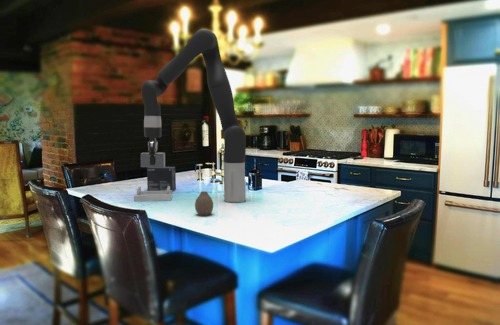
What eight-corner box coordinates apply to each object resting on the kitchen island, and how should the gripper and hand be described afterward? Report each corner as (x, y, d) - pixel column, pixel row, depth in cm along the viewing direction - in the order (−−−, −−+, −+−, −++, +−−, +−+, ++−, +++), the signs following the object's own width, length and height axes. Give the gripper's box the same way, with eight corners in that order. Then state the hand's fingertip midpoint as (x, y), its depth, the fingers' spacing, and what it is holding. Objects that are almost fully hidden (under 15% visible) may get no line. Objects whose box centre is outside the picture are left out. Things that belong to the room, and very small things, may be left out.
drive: (165, 165, 183) (165, 152, 182) (163, 167, 178) (163, 153, 177) (142, 165, 182) (142, 152, 181) (140, 167, 177) (140, 153, 176)
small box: (176, 189, 206) (175, 166, 204) (172, 192, 199) (172, 168, 198) (151, 189, 207) (150, 166, 206) (146, 191, 200) (146, 167, 199)
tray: (172, 195, 190) (172, 185, 189) (171, 200, 179) (170, 189, 178) (137, 196, 187) (137, 185, 187) (134, 201, 177) (133, 190, 176)
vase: (204, 211, 157) (204, 189, 156) (217, 214, 153) (216, 191, 152) (191, 214, 152) (190, 192, 151) (204, 217, 148) (203, 194, 147)
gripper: (160, 126, 171) (160, 166, 173) (162, 126, 186) (162, 162, 187) (142, 126, 170) (142, 166, 172) (145, 125, 184) (146, 162, 186)
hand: (153, 163), depth 180 cm, fingers closed on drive, 5 cm apart
